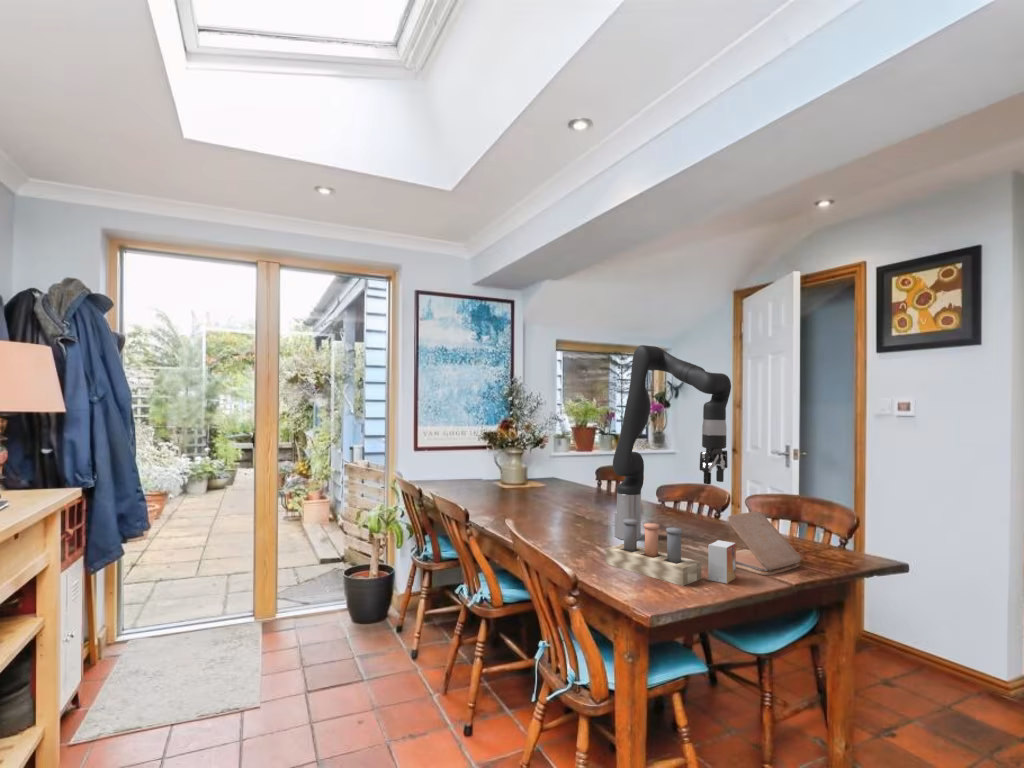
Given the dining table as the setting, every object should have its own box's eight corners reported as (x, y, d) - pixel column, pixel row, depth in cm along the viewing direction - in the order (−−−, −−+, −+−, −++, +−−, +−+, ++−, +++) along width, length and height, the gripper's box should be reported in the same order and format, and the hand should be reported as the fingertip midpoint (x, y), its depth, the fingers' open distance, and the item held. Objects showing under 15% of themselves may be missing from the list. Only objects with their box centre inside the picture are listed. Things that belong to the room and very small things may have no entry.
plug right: (663, 561, 165) (663, 529, 166) (671, 559, 168) (671, 526, 169) (676, 565, 162) (676, 531, 162) (685, 562, 165) (685, 529, 165)
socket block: (605, 563, 178) (605, 548, 178) (624, 558, 185) (624, 543, 185) (682, 586, 157) (682, 568, 157) (701, 579, 164) (701, 562, 164)
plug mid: (640, 556, 171) (641, 524, 172) (649, 553, 174) (649, 522, 175) (653, 559, 168) (653, 527, 168) (662, 556, 171) (662, 525, 171)
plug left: (620, 550, 177) (620, 520, 178) (628, 548, 180) (628, 518, 181) (631, 553, 174) (632, 522, 174) (640, 551, 177) (640, 520, 177)
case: (767, 578, 166) (768, 524, 167) (708, 561, 184) (709, 512, 184) (804, 568, 177) (804, 518, 178) (745, 553, 195) (745, 507, 196)
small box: (727, 584, 159) (726, 547, 160) (707, 580, 163) (707, 544, 163) (736, 578, 165) (736, 542, 166) (717, 574, 169) (717, 539, 169)
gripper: (713, 432, 189) (713, 479, 189) (692, 433, 179) (692, 483, 179) (735, 433, 183) (734, 482, 183) (714, 434, 174) (713, 486, 173)
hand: (713, 482), depth 181 cm, fingers open, 8 cm apart
